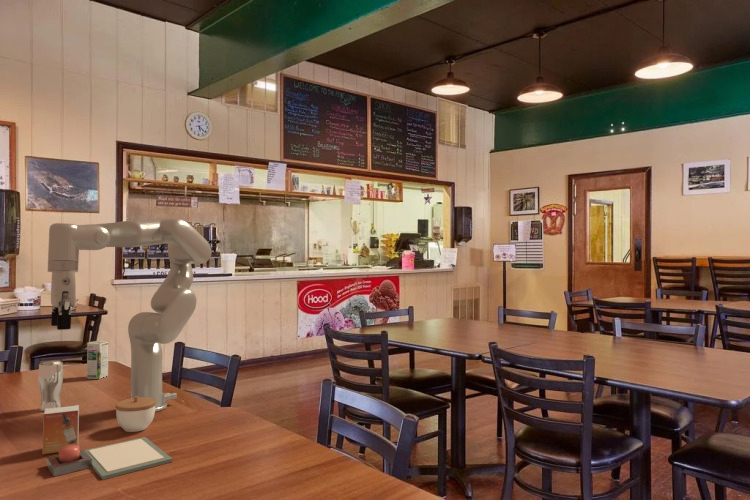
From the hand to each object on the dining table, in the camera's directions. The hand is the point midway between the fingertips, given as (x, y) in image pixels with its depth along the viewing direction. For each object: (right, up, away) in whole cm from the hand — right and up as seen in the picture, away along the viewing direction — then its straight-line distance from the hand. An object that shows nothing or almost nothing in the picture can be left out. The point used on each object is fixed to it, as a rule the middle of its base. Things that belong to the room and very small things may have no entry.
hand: (60, 327), depth 151 cm
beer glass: (-17, -30, +23) cm, 42 cm away
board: (+26, -31, -16) cm, 43 cm away
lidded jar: (+19, -31, +5) cm, 36 cm away
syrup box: (-23, -30, +65) cm, 76 cm away
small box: (+7, -31, -11) cm, 33 cm away
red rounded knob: (+15, -29, -22) cm, 39 cm away
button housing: (+15, -31, -22) cm, 40 cm away
